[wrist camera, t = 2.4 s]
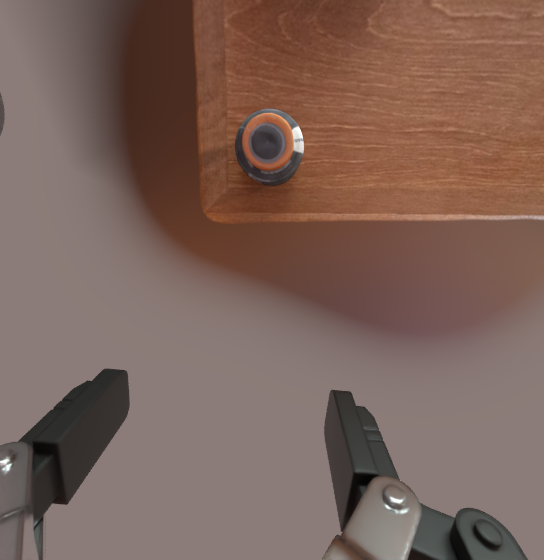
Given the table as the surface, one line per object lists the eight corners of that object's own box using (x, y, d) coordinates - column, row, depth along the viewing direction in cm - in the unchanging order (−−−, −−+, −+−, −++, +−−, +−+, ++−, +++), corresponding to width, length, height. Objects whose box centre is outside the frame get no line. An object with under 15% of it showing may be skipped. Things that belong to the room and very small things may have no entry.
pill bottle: (302, 132, 33) (313, 102, 22) (295, 188, 34) (301, 186, 23) (248, 126, 33) (231, 92, 22) (243, 182, 34) (226, 178, 23)
